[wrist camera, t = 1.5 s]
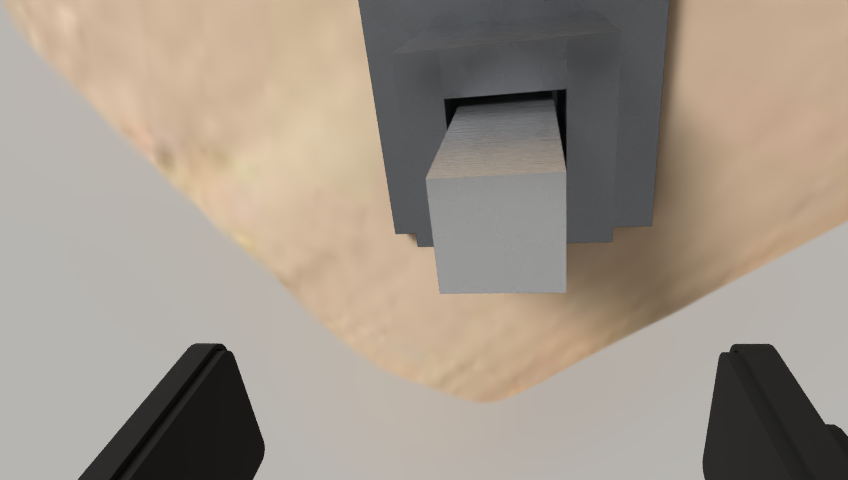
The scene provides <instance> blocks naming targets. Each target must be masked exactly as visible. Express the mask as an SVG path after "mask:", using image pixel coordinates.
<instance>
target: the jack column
mask: <svg viewBox="0 0 848 480" xmlns="http://www.w3.org/2000/svg"><path fill="white" fill-rule="evenodd" d="M426 187H427V195H428V203H429V211H430V219H431V227H432V235H433V243H434V251H435V259H436V267H437V275H438V283H439V291H440V294H461V293H566V167H565V161H564V156H563V150H562V145H561V139H560V133H559V128H558V122H557V117H556V111H555V106H554V100H553V90H548V91H536V92H524V93H511V94H499V95H487V96H475V97H463V98H462V99H461V101H460V104H459V106H458V108H457V110H456V113H455V115H454V117H453V119H452V121H451V124H450V126H449V128H448V130H447V132H446V135H445V137H444V139H443V141H442V143H441V146H440V148H439V150H438V152H437V155H436V157H435V159H434V161H433V163H432V166H431V168H430V170H429V172H428V174H427V177H426Z"/></svg>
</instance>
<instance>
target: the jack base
mask: <svg viewBox="0 0 848 480" xmlns="http://www.w3.org/2000/svg"><path fill="white" fill-rule="evenodd" d="M358 1H359V8H360V14H361V20H362V27H363V33H364V39H365V45H366V52H367V58H368V64H369V71H370V77H371V83H372V89H373V96H374V102H375V108H376V114H377V121H378V127H379V133H380V140H381V146H382V152H383V158H384V165H385V171H386V177H387V184H388V190H389V196H390V202H391V209H392V215H393V221H394V228H395V234H414V233H416V237H417V245H418V247H434V243H433V235H432V227H431V219H430V211H429V203H428V195H427V187H426V177H427V174H428V172H429V170H430V168H431V166H432V163H433V161H434V159H435V157H436V155H437V152H438V150H439V148H440V146H441V143H442V141H443V139H444V137H445V135H446V132H447V130H448V128H449V126H450V124H451V121H452V119H453V117H454V115H455V113H456V110H457V108H458V106H459V104H460V101H461V99H462V98H463V97H475V96H487V95H499V94H511V93H524V92H536V91H548V90H553V100H554V106H555V111H556V117H557V122H558V128H559V133H560V139H561V145H562V150H563V156H564V161H565V167H566V243H588V242H612V236H613V227H637V226H652V213H653V200H654V187H655V175H656V162H657V149H658V137H659V124H660V111H661V99H662V86H663V73H664V61H665V48H666V35H667V23H668V10H669V0H358Z"/></svg>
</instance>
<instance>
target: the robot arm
mask: <svg viewBox="0 0 848 480" xmlns="http://www.w3.org/2000/svg"><path fill="white" fill-rule="evenodd" d="M264 451H265V445H264V441H263V438H262V435H261V432H260V429H259V426H258V423H257V421H256V418H255V415H254V412H253V410H252V406H251V403H250V400H249V397H248V395H247V392H246V389H245V386H244V383H243V380H242V377H241V374H240V371H239V369H238V366H237V363H236V360H235V357H234V355H233V353H232V352H231V351H227V349H226V347H225V346H224V345H223V344H205V343H204V344H202V343H201V344H200V343H199V344H198V343H196V344H193V345H191V346H190V347H189V348H188V349H187V351H186V352H185V353H184V354H183V355H182V357H181V358H180V359H179V360H178V361H177V362H176V364H175V365H174V366H173V367H172V368H171V369H170V371H169V372H168V373H167V374H166V375H165V377H164V378H163V379H162V380H161V381H160V383H159V384H158V385H157V386H156V387H155V389H154V390H153V391H152V392H151V393H150V394H149V396H148V397H147V398H146V399H145V400H144V401H143V403H142V404H141V405H140V406H139V408H138V409H137V410H136V411H135V412H134V414H133V415H132V416H131V417H130V418H129V419H128V421H127V422H126V423H125V424H124V425H123V427H122V428H121V429H120V430H119V431H118V432H117V434H116V435H115V436H114V437H113V438H112V440H111V441H110V442H109V443H108V444H107V445H106V447H105V448H104V449H103V450H102V451H101V453H100V454H99V455H98V456H97V457H96V459H95V460H94V461H93V462H92V463H91V464H90V466H89V467H88V468H87V469H86V470H85V472H84V473H83V474H82V475H81V476H80V477H79V479H78V480H253V478H254V476H255V474H256V472H257V470H258V468H259V466H260V464H261V462H262V460H263V457H264ZM703 473H704V477H705V480H848V436H847V435H846V434H845V433H844V431H842V429H841V428H839V427H837V426H836V425H829V424H825V423H824V422H823V420H822V419H821V417H820V416H819V414H818V413H817V411H816V409H815V408H814V406H813V405H812V403H811V402H810V400H809V399H808V397H807V396H806V394H805V393H804V392H803V390H802V388H801V387H800V385H799V384H798V382H797V381H796V379H795V378H794V376H793V375H792V373H791V372H790V370H789V369H788V367H787V366H786V364H785V362H784V361H783V360H782V358H781V356H780V355H779V353H778V352H777V350H776V349H775V348H774V347H773V346H772V345H770V344H734V345H732V347H731V349H730V352H723V353H721V354H720V356H719V361H718V367H717V373H716V379H715V386H714V392H713V398H712V405H711V411H710V417H709V423H708V429H707V436H706V443H705V449H704V455H703Z"/></svg>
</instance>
